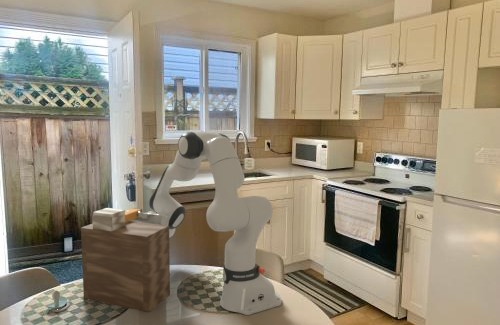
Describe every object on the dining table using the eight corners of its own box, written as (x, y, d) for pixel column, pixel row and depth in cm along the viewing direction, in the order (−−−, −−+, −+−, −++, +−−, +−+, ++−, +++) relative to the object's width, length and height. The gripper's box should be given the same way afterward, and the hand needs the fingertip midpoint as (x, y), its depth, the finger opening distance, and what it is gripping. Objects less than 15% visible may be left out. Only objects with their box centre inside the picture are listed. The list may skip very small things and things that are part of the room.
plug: (135, 215, 156) (134, 207, 156) (142, 216, 155) (142, 208, 155) (104, 226, 139) (104, 218, 139) (112, 228, 138) (112, 219, 138)
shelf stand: (109, 283, 154) (106, 203, 150) (169, 294, 145) (168, 209, 141) (83, 298, 141) (80, 211, 137) (148, 312, 132) (146, 219, 128)
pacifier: (73, 304, 137) (58, 302, 138) (73, 287, 137) (58, 285, 138) (60, 314, 130) (44, 312, 131) (59, 297, 130) (44, 295, 131)
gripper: (132, 213, 169) (113, 203, 157) (173, 217, 162) (157, 207, 150) (128, 226, 166) (109, 218, 154) (169, 232, 160) (152, 223, 148)
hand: (133, 213), depth 152 cm, fingers closed on plug, 3 cm apart
